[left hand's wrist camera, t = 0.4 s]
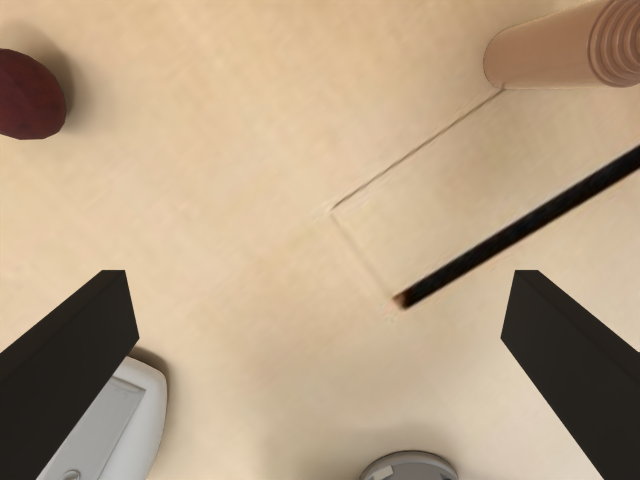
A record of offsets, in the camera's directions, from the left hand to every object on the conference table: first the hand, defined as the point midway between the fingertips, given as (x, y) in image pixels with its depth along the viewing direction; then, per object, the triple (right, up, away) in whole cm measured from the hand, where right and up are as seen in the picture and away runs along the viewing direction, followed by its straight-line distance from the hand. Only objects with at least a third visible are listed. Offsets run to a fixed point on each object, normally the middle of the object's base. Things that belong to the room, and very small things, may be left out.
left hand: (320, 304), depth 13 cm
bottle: (+18, +19, +22) cm, 35 cm away
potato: (-27, +16, +24) cm, 39 cm away
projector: (-29, -21, +39) cm, 53 cm away
